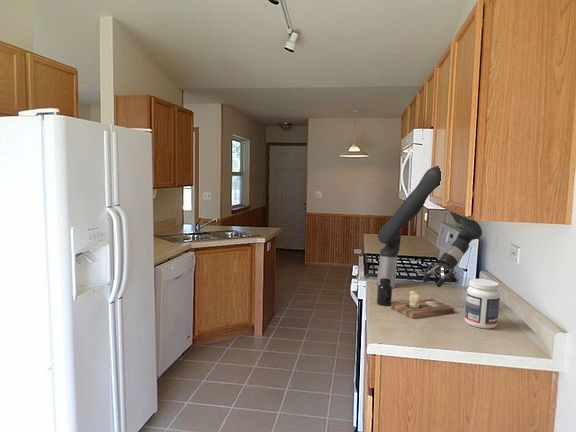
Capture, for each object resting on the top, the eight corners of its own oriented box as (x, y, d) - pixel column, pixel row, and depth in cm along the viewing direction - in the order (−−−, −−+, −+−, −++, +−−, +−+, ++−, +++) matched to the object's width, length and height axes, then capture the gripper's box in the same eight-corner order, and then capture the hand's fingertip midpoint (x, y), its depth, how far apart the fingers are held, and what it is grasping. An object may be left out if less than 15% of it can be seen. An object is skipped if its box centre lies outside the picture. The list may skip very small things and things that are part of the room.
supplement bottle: (373, 302, 207) (375, 278, 206) (385, 301, 210) (386, 277, 208) (382, 306, 201) (383, 281, 199) (394, 305, 204) (395, 280, 202)
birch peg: (406, 310, 196) (407, 291, 195) (414, 309, 198) (415, 290, 197) (413, 314, 192) (414, 294, 191) (420, 312, 194) (422, 293, 193)
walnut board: (391, 308, 199) (391, 303, 198) (431, 303, 209) (431, 298, 208) (412, 318, 186) (412, 312, 186) (453, 312, 196) (453, 307, 196)
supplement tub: (493, 321, 187) (497, 279, 185) (500, 331, 175) (504, 287, 173) (462, 317, 190) (465, 276, 188) (466, 327, 178) (470, 284, 176)
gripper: (436, 249, 206) (415, 274, 203) (459, 255, 193) (438, 282, 190) (443, 259, 209) (423, 284, 205) (466, 266, 196) (446, 293, 193)
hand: (430, 283), depth 198 cm, fingers open, 8 cm apart
